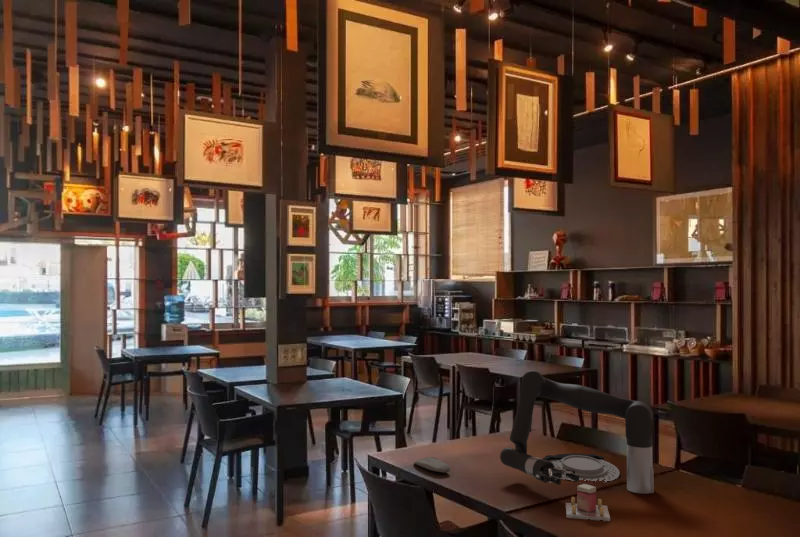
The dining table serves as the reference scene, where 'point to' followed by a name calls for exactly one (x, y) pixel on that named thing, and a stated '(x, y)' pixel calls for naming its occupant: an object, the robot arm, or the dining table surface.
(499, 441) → the dining table surface
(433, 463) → the stone
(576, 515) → the chassis
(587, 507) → the small box
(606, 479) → the brake disc
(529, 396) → the robot arm
